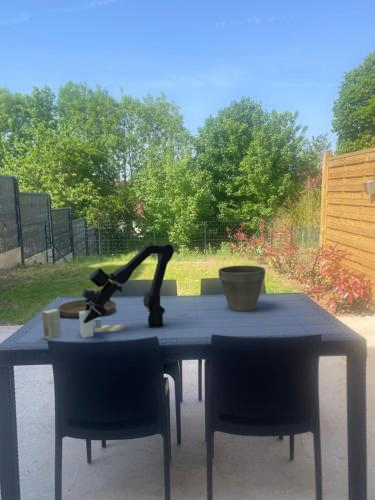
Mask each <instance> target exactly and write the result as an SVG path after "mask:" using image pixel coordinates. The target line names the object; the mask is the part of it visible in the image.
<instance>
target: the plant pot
mask: <svg viewBox="0 0 375 500" xmlns="http://www.w3.org/2000/svg"><path fill="white" fill-rule="evenodd" d="M265 277H266V268H264V267H263V266H258V265H257V266H256V265H230V266H224V267H221V268H219V269H218V279H219V280H220V281H221V285H222V288H223V289H222V290H223V292H224V296H225V300H226V302H227V306H228V308H229V309H230V310H231V311H235V312H250V311H253V310H256V309H257V307H258V302H259V298H260V295H261V290H262V285H263V283H264V282H263V281H264V279H265Z"/></svg>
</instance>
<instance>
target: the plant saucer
mask: <svg viewBox="0 0 375 500" xmlns="http://www.w3.org/2000/svg"><path fill="white" fill-rule="evenodd" d="M85 302H86V301H85V299H78V300H73V301H68V302H64V303H62V304H60V305H58V307H57V310H59V312H60V314H61V315H62V316H63V317H64V318H66V319H79V311H84V310H85V308H86V305H85ZM86 303H87V302H86ZM116 306H117V302H116V301H113V300H111V299H110V302H109V301H108V302H107V303H106V304H105V305H104V307H105V309H106V310H107V314H106V315H105V316H107V315H110V314H112V312H113V310H115V308H116ZM100 315H102V314H100ZM101 317H104V316H103V315H102V316H100V317H99V318H101Z"/></svg>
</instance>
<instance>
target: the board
mask: <svg viewBox="0 0 375 500" xmlns="http://www.w3.org/2000/svg"><path fill="white" fill-rule="evenodd" d="M101 326H102V327H101V328H96V325H94V326H93V333H97V332H100V333H101V332H102V333H103V332H104V333H105V332H122V331H123V330H124V328H125V326H126V325H125V324H107V325H102V324H101Z"/></svg>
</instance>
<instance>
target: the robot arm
mask: <svg viewBox="0 0 375 500" xmlns="http://www.w3.org/2000/svg"><path fill="white" fill-rule="evenodd" d="M174 253H175V248H174V247H173V245H172V244H168V243H161V244H159V245H157V244H155V245H154V244H151V245H150V244H145V246H144V247H142V248H141V249H140V251H139V252H137V254H135V255H134V256H133V257H132V258H131V259H130V260H129V261H128V262H127V263H126V264H125V265H122V266H121V267H119V268H117V269H116V270H115V271H114V272H113V273H106V272H105V271H104V270H103V268H101V267H99V268H97V269H95V271H94V272H92V273H91V274H90V275H89V277H88V280H90V281H91V282H92V283H93V284H94V285H95V286H97V287H98V288H101V287H102V288H101V289H100V290H97V291H95V290H92V289H86V288H84V289H83V292H82V294H81V296H82V298H85V299H84V300H85V301H86V302H87V303H86V302H85V305H86V308H85V310H84V311H87V310H90V312H89V314H88V315H87V317H86V318H85V320H84V323H87V322H89V321H91V320H92V321H93V320H96V318H101V317H100V316H102V315H103V316H102V317H105V316H107V315H106V314H107V310H106V309H105V307H104V305H105V304H106V303H107V302H108V301H109V302H110V300H111V299H112V297H113V296H114V295H115V293H116V292H117V291H118V292H120V293H122V292H123V286H122V284H125V283H127V282H128V280H129V279H130V278H131V277H132V274H133V273H134V271H135V270H136V269H137V268H138V267H139V266H140V265H141V264H143V262H144V261H146V259H147V258H149V257H150V256H151V255H153V254H154V255H155V254H156V256H157V257H156V258H157V263H156V267H155V269H154V270H155V271H154V274H153V280H152V282H151V287H150V290H149V291H148V292H145V293H144V298H143V299H142V302H143V306H144V307H145V309H147V311H148V312H149V313H148V316H147V319H148V320H147V323H148V327H149V328H162V327H164V324H165V323H164V314H165V311H166V309H165V308H164V307H162V305H161V290H162V286H163V281H164V278H165V274H166V271H167V266H168V263H169V262H170V261H171V260H172V257H173V255H174ZM111 281H112V282H111ZM117 283H118V284H117ZM119 284H120V285H119ZM100 314H102V315H100Z"/></svg>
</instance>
